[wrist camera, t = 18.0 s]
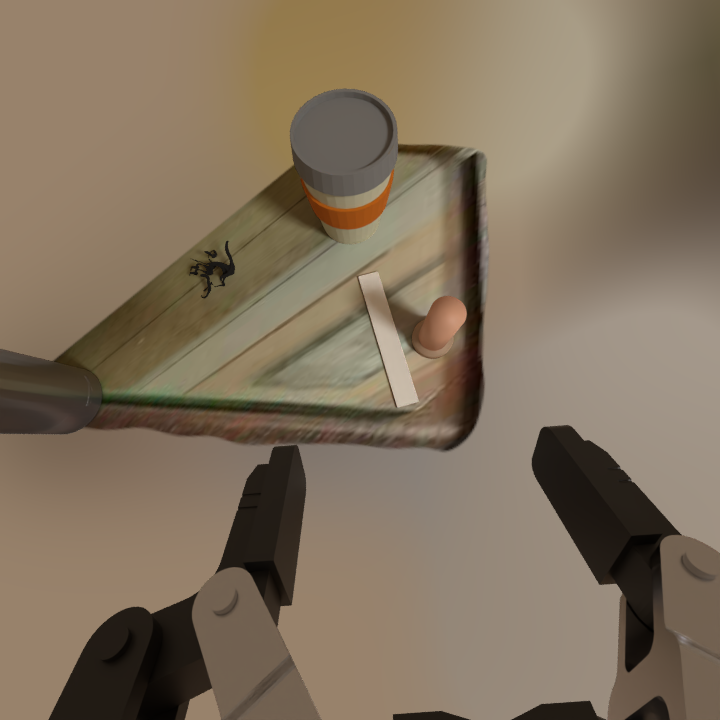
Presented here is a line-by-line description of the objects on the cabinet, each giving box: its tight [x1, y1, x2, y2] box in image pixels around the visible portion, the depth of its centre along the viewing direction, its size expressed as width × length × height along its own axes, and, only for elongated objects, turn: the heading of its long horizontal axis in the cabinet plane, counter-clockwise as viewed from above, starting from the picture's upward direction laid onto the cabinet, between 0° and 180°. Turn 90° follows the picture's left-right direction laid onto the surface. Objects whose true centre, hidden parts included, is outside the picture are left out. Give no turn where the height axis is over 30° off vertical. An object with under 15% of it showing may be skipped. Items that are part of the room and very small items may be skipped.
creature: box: [190, 241, 235, 298], centre depth 47 cm, size 8×5×8 cm
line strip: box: [358, 271, 419, 408], centre depth 46 cm, size 3×20×1 cm, turn 15°
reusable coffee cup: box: [290, 89, 398, 244], centre depth 43 cm, size 13×13×15 cm
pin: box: [412, 296, 466, 359], centre depth 41 cm, size 6×6×10 cm
